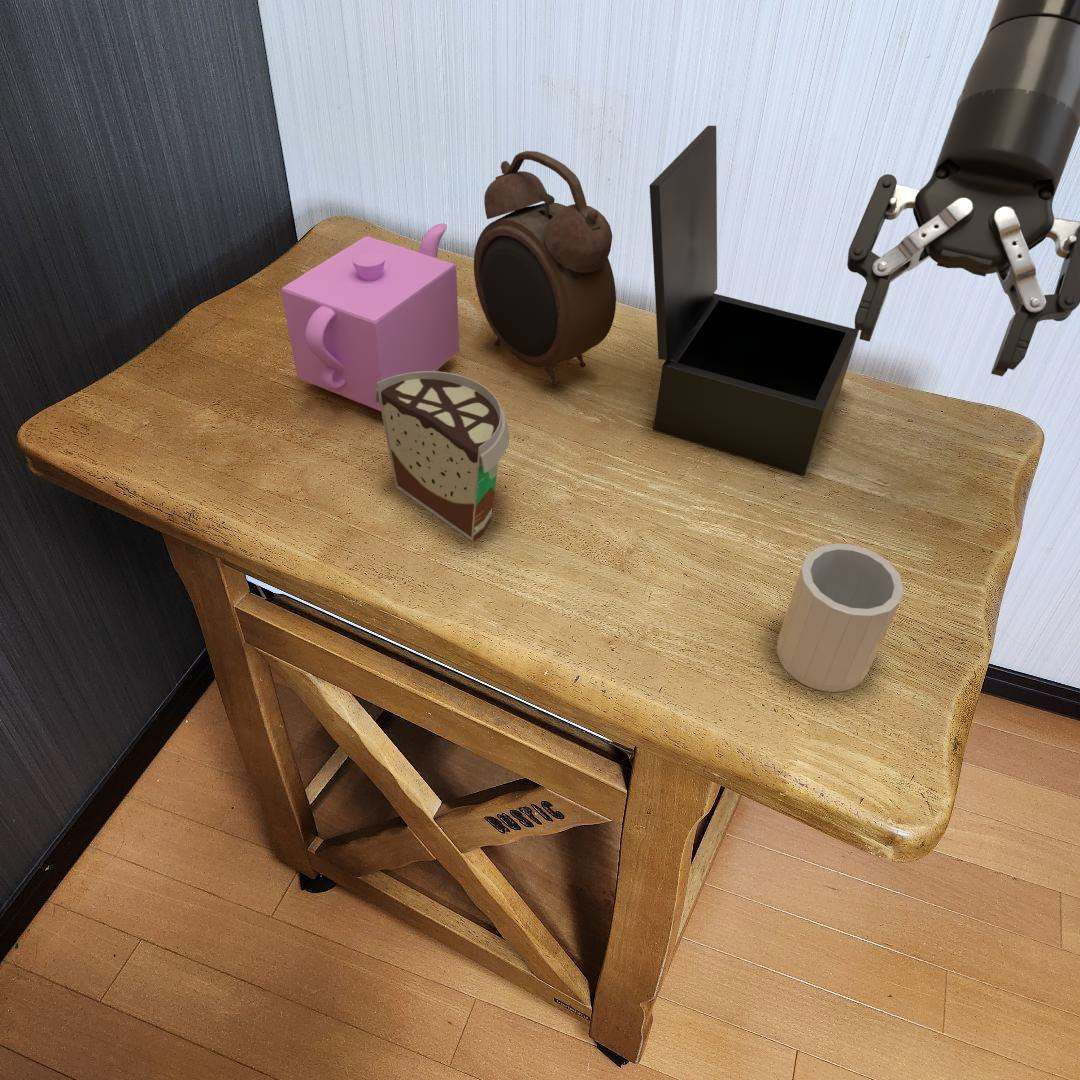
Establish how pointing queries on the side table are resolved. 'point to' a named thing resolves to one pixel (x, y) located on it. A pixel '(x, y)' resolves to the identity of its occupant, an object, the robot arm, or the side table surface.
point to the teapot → (373, 316)
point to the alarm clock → (544, 268)
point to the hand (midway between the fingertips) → (930, 354)
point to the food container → (444, 444)
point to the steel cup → (838, 616)
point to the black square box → (754, 382)
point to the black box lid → (684, 239)
